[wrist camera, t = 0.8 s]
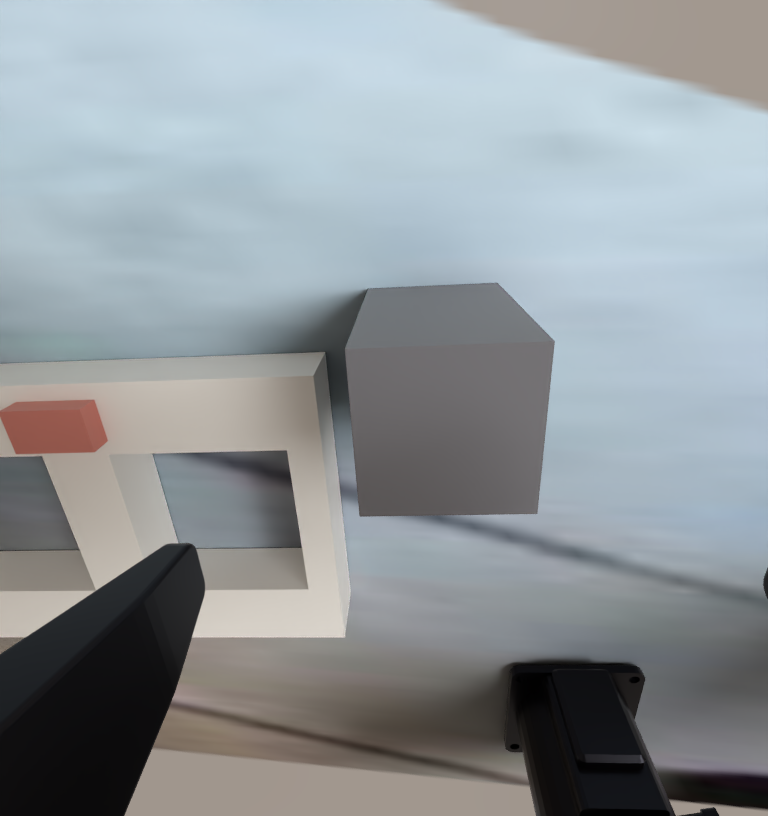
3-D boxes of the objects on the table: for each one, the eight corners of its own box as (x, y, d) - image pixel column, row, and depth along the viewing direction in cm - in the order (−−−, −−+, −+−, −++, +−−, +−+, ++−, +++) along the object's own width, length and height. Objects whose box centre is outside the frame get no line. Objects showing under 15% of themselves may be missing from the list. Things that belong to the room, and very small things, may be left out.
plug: (492, 401, 18) (537, 513, 12) (375, 404, 19) (359, 516, 12) (497, 282, 16) (554, 340, 10) (368, 288, 17) (344, 348, 10)
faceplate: (350, 592, 23) (342, 653, 20) (-7, 594, 24) (-67, 652, 21) (325, 351, 18) (308, 384, 15) (-125, 368, 19) (-226, 401, 16)
